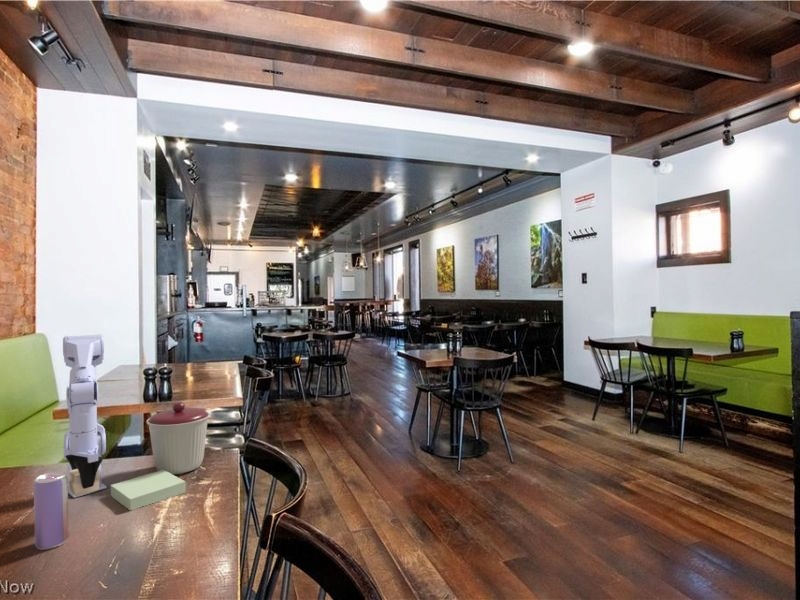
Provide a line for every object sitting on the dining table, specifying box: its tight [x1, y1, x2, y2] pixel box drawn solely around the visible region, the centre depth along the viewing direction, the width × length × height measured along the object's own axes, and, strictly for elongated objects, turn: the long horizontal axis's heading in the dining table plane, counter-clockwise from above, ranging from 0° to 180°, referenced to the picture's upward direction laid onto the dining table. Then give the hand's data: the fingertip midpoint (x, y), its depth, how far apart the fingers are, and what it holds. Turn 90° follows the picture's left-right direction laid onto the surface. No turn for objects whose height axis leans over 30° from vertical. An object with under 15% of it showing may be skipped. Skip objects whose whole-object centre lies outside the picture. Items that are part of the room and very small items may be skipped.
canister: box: [145, 401, 211, 476], centre depth 144 cm, size 18×18×21 cm
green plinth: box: [110, 470, 187, 511], centre depth 126 cm, size 14×14×3 cm
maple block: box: [69, 469, 100, 496], centre depth 114 cm, size 5×5×5 cm
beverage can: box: [33, 471, 70, 551], centre depth 101 cm, size 6×6×15 cm
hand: (84, 484), depth 114 cm, fingers closed on maple block, 5 cm apart
